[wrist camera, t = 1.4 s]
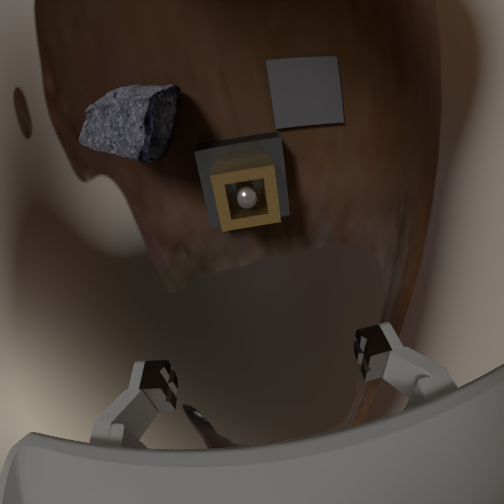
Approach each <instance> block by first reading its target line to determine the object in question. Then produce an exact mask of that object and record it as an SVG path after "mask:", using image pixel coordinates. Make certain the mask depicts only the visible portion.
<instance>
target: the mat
mask: <svg viewBox="0 0 504 504" xmlns="http://www.w3.org/2000/svg"><path fill="white" fill-rule="evenodd" d="M265 62H266V68H267V74H268V81H269V87H270V94H271V101H272V108H273V115H274V122H275V128H276V129H280V128H288V127H297V126H306V125H317V124H329V123H343V122H344V115H343V104H342V94H341V84H340V76H339V68H338V60H337V56H324V57H298V58H284V59H273V60H265Z"/></svg>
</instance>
